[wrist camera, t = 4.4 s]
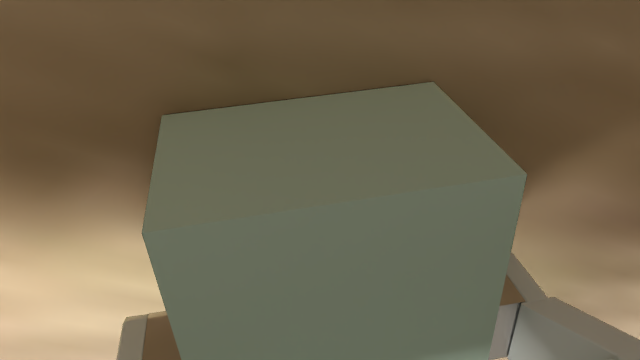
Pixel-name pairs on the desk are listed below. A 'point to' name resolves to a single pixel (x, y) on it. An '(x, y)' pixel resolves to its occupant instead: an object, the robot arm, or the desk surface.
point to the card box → (332, 228)
